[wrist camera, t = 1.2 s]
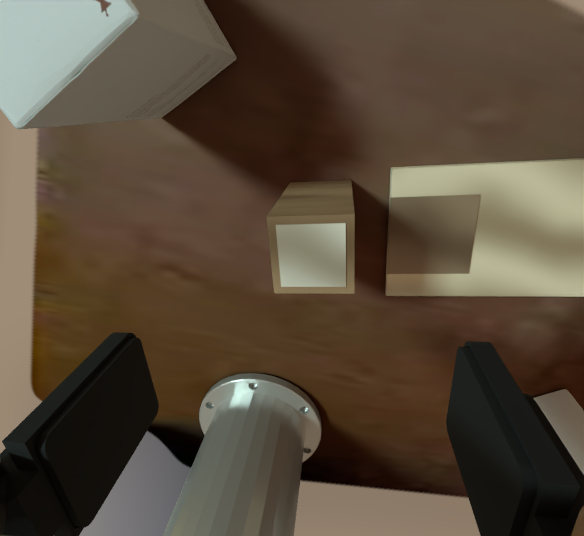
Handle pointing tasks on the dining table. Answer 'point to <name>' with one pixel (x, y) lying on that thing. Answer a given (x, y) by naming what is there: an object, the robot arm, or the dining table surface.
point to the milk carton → (565, 421)
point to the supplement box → (104, 59)
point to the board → (487, 229)
